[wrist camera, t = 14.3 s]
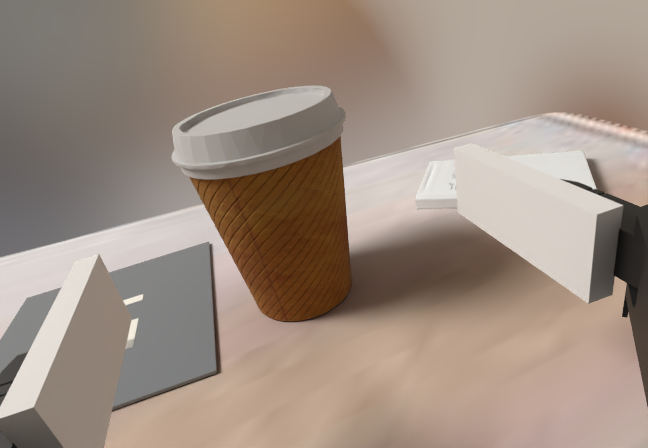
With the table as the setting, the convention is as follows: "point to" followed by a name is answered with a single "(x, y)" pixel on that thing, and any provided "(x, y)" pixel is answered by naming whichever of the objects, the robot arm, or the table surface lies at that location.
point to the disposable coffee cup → (275, 194)
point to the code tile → (146, 324)
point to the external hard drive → (562, 165)
